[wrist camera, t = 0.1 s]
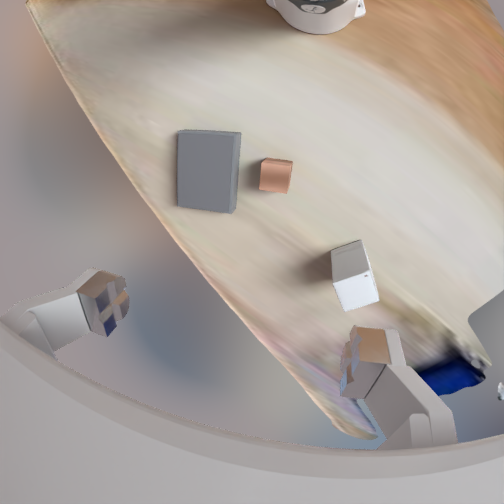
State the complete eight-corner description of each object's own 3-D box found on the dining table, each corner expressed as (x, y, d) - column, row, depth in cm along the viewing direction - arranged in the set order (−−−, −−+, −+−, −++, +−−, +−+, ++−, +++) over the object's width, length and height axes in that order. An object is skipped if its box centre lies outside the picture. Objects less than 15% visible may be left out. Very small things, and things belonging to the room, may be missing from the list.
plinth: (185, 129, 53) (176, 131, 50) (241, 132, 52) (235, 133, 48) (183, 201, 61) (175, 207, 58) (235, 208, 59) (230, 214, 56)
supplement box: (329, 249, 59) (331, 282, 48) (362, 238, 56) (371, 269, 45) (340, 277, 61) (343, 313, 50) (371, 267, 59) (380, 301, 48)
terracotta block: (267, 157, 53) (261, 162, 48) (292, 161, 52) (290, 166, 47) (264, 182, 55) (259, 189, 50) (289, 185, 55) (286, 193, 49)
